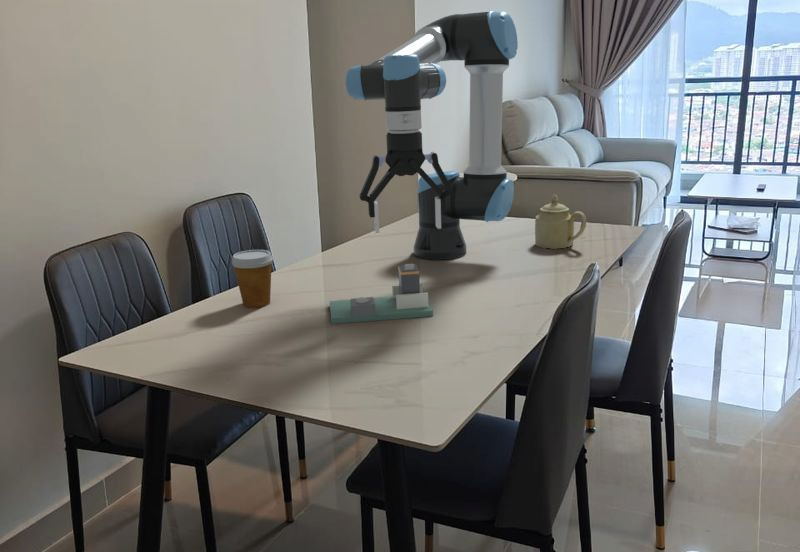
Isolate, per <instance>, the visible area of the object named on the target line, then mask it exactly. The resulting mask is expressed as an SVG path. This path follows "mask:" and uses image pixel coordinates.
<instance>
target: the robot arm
mask: <svg viewBox="0 0 800 552" xmlns="http://www.w3.org/2000/svg"><path fill="white" fill-rule="evenodd" d="M518 43H519V42H518V32H517V28H516V26H515V23H514V20H513V18H512V17H511V15H510V14H509V13H507V12H506V11H493V10H490V11H481V12H473V13H472V12H470V13H456V14H450V15H447V16H444V17H441V18H439V19H437V20H434V21H432V22H430V23H428V24H427V25H425V26H423V27H422V28H420V29H418V30H417V31H416V32H415V33H414V35H413V37H412V38H411V39H410V40H408V41H406V42H405V43H403V44H402V45H400V46H398V47H396V48H394V49H393V50H392V51H390V52H388V53H386V54H385V55H383V56H382V57H380V58H378V59H376V60H375V61H373V62H372V63H370V64H367V65H362V64H359V65H356V66H351V67H349V69H348V71H347V72H346V75H345V80H344V81H345V88H346V93H347V94H348V96H349V97H350V98H352V99H354V100H359V101H360V100H362V101H374V100H378V101H380V100H384V106H385V107H384V113H385V116H384V117H385V130H386V131H387V133H386V136H385V137H386V155H385V156H378V155H377V154H376V155H375V154H374V155H373V156H372V162H371V163H372V164H371V167H370V170H369V171H368V174H367V177H366V179H365V182H364V184H363V187H362V189H361V191H360V193H359V199H360V200H361V201H362V202H366V203H367V204H368V215H369V217H370V218H373V222H374V223H373V224H374V231H375V234H379V233H380V222H379V221H380V220H379V218H380V217H379V203H378V201H377V199H378V197H379V196H380V194H382V192H383V191H384V190H385V188H386V187H387V185H389V183H390V181H391V180H392V179H393V178H394V177H395V176H398V177H404V176H409V177H410V176H414V175H416V174H418V175H419V176H420V177H419V179H418V181H417V182H418V183H417V193H416V194H417V205H418V208H417V209H418V230H417V235H416V237H415V240H414V244H413V254H414V256H415V257H417V258H420V259H426V260H438V261H439V260H451V259H457V258H461V257H462V256H465V255H466V253H467V244H466V241H465V239H464V235H463V233H462V230H461V229H462V228H461V223H460V222H461V221H460V220H464V221H465V220H466V221H483V222H486V223H489V222H501V221H503V220H504V219H506V217H507V216H508V214H509V212H510V210H511V207H512V204H513V200H514V195H515V194H514V193H515V186H514V182H513V180H512V179H510V178H509V177H508V178H507V174H508V173H507V170H506V169H505V168H504V167H503V166H502V140H503V139H502V137H503V134H502V133H503V96H504V95H503V94H504V93H503V92H504V91H503V90H504V87H503V86H504V84H503V83H504V72H505V71H506V70H507V69H509V67H510V60H513V59H514V58H515V57H516V56H517V50H518ZM447 61H448V62H449V61H450V62H451V61H464V62H463V63H464V69H465V70H466V71H468V73H469V146H468V147H469V151H468V153H469V155H468V159H469V160H468V163H469V164H468V167H466V168H465V169H464V170H463V176H461V174H460V172H459V170H458V171H457V170H448V171H446V170H445V171H443V169H442V167H441V165H440V162H439V157H438V154H437V153H436V152H435V151H431V152H430V153H426V154H424V151H423V133H422V132H421V131H420V130H421V129H422V128H423V127H422V105H421V103H422V100H425V99H429V100H431V99H433V98H436V97H438V96H440V95H441V94H442V93H443V92H444V90H445V88H446V85H447V75H446V72H445V71H444V68H442V67H441V66H440V65H439V63H440V62H447ZM425 160H426V161H427V163H429V164H431V165H432V168H433V169H434V173H430V174H429V173H428V174H427V173H426V172H425V170H424V169H423V168H422V165H423V164H424V162H425ZM384 163H386V164H387V165H388V169H387V170H386V172H385V174H384V175H383V177H382V178H381V180H380V181H379V182H378V184H377V185H376V186H375V187H374V189H373V190H372V191H371V193H370V194H369V192H370V190H371V187H372V185H373V183H374V180H375V178H376V176H377V175H378V174H377V173H378V171H379V168H381V167H382V166H383V165H384Z"/></svg>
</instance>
